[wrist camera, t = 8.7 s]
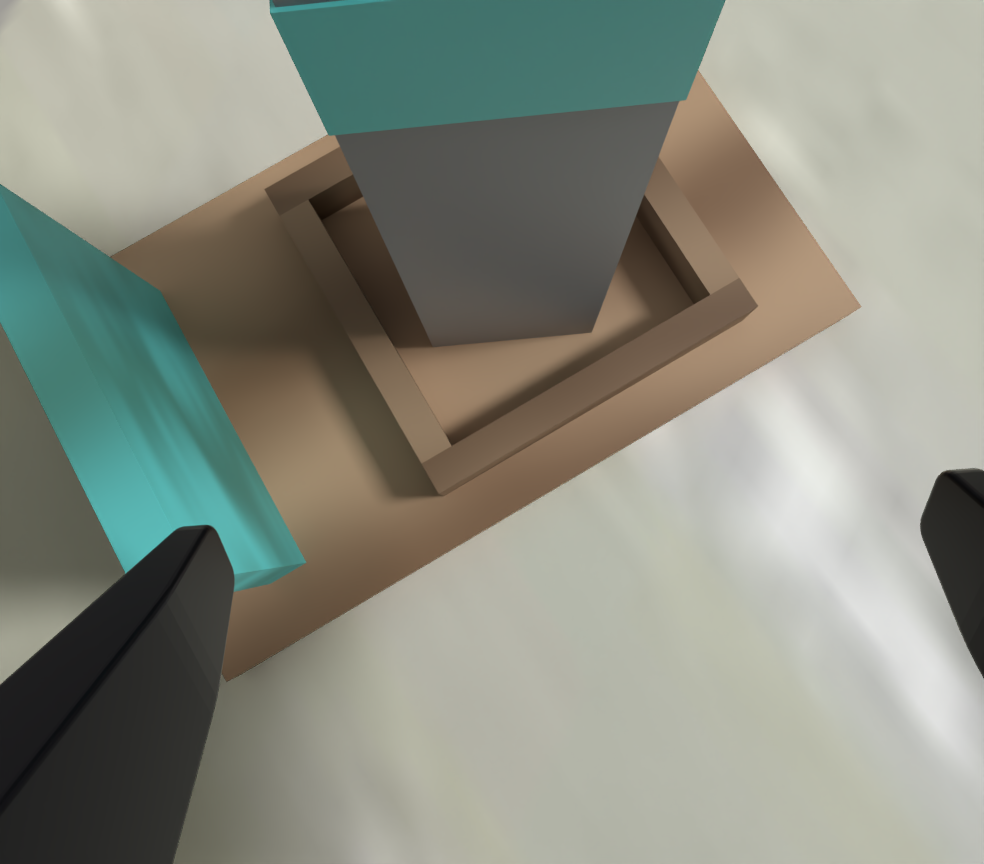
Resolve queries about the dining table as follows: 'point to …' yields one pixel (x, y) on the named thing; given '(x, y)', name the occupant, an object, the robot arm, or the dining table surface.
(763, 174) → the tray
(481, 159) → the panel
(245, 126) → the dining table surface
